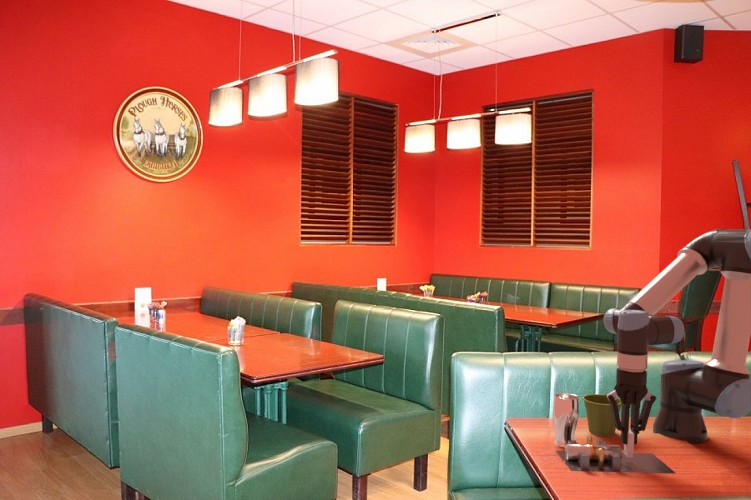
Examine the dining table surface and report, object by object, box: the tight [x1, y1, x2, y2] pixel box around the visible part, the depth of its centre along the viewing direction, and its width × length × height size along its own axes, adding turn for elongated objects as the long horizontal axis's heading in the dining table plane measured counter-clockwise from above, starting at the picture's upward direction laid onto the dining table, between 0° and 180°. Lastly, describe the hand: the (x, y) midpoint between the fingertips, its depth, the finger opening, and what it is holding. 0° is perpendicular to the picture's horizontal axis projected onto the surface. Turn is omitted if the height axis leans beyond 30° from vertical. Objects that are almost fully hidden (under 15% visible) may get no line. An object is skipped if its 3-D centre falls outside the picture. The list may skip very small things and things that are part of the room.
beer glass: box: [552, 392, 580, 448], centre depth 177 cm, size 7×7×15 cm
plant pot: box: [581, 393, 621, 437], centre depth 189 cm, size 12×12×11 cm
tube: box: [564, 443, 623, 461], centre depth 166 cm, size 14×4×4 cm, turn 90°
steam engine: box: [555, 435, 677, 475], centre depth 165 cm, size 27×14×6 cm, turn 90°
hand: (628, 455), depth 165 cm, fingers closed
